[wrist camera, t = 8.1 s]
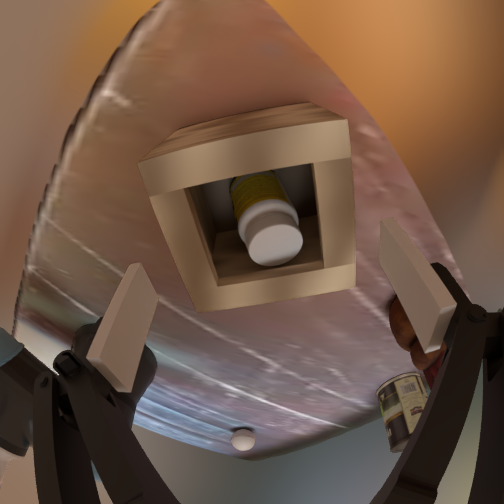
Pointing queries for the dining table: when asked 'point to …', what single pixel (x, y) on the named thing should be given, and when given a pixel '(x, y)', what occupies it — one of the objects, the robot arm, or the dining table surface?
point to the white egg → (243, 439)
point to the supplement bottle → (265, 217)
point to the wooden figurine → (414, 343)
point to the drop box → (221, 211)
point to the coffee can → (401, 407)
